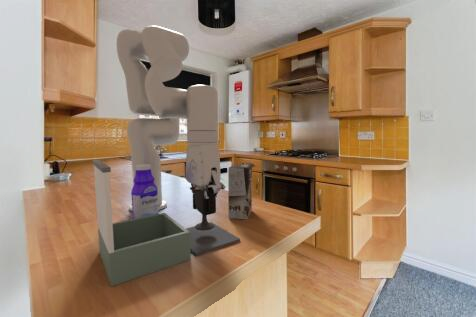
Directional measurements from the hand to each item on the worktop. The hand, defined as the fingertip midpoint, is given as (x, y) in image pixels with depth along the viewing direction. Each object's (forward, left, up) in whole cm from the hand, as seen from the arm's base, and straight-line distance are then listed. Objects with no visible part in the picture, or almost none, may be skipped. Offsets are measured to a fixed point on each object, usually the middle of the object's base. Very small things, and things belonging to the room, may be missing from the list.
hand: (204, 210), depth 60 cm
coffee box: (-8, +18, -7) cm, 21 cm away
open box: (0, -15, -7) cm, 17 cm away
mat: (0, 0, -7) cm, 7 cm away
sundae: (0, 0, -4) cm, 4 cm away
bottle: (-19, -9, -7) cm, 23 cm away
